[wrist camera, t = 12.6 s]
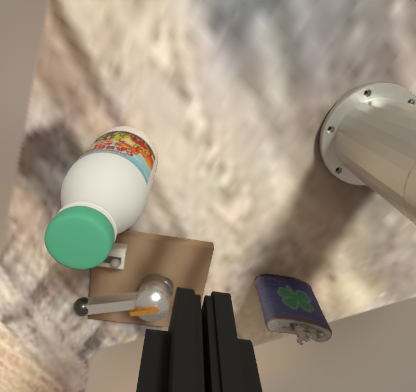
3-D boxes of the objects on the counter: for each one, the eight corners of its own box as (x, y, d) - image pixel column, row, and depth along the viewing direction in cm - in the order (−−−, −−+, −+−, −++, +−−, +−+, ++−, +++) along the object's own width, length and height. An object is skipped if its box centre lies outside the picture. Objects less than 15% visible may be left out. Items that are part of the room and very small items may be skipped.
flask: (251, 285, 51) (266, 342, 41) (258, 269, 49) (275, 324, 40) (307, 297, 52) (334, 355, 42) (314, 282, 51) (344, 339, 41)
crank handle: (171, 272, 47) (169, 296, 42) (175, 296, 49) (174, 322, 44) (75, 283, 47) (63, 308, 42) (83, 307, 49) (72, 334, 44)
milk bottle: (168, 171, 42) (152, 267, 24) (114, 194, 43) (59, 302, 25) (140, 114, 39) (97, 175, 21) (82, 140, 40) (-7, 220, 22)
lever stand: (213, 242, 47) (215, 263, 43) (194, 322, 53) (194, 347, 49) (96, 226, 45) (86, 245, 41) (90, 311, 51) (81, 336, 47)
